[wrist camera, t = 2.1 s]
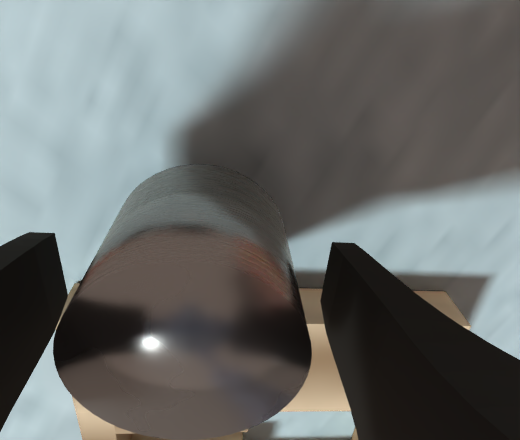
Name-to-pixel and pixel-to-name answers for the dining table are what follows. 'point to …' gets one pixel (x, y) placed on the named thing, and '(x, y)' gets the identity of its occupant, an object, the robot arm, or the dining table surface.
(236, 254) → the keyhole peg
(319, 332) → the keyhole plate
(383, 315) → the robot arm
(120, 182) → the dining table surface
